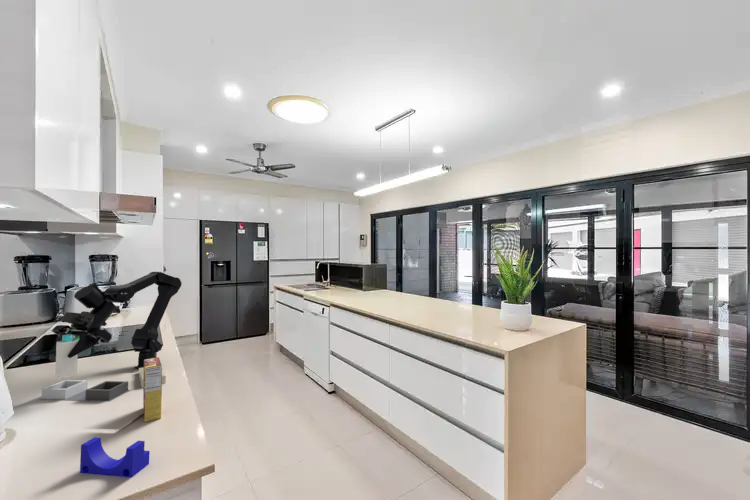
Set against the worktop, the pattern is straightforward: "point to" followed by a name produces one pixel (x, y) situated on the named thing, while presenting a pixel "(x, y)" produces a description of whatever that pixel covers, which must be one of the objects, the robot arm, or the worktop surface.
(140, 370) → the electrical outlet
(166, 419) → the worktop surface
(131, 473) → the blue cradle bracket
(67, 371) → the plug
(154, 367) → the candy box
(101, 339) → the robot arm
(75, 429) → the worktop surface
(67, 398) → the grey long flat tray
